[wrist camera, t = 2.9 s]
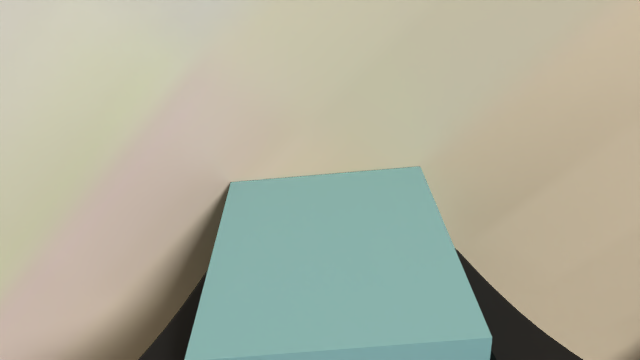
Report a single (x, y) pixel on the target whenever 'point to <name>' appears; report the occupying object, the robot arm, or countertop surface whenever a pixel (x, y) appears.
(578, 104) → the countertop surface
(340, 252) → the teal block
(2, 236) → the countertop surface
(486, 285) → the robot arm
